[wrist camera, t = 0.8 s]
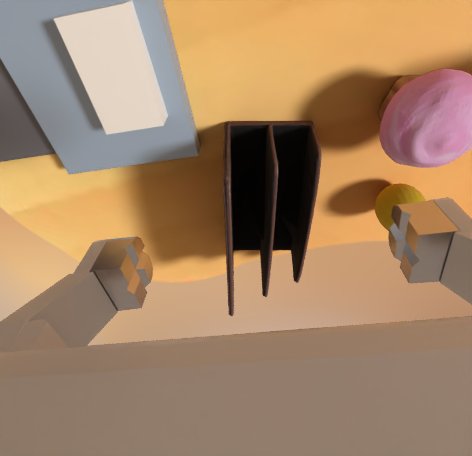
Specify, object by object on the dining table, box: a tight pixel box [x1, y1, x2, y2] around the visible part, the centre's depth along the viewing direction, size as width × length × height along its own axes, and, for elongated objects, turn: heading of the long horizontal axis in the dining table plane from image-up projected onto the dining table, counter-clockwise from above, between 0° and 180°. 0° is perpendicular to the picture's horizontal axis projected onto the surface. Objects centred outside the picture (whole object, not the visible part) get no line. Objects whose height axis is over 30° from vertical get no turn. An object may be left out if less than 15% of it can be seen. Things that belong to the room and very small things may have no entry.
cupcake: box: [378, 69, 472, 167], centre depth 30 cm, size 9×9×10 cm
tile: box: [54, 0, 168, 135], centre depth 29 cm, size 10×6×2 cm, turn 10°
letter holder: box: [223, 121, 321, 316], centre depth 37 cm, size 10×20×14 cm, turn 1°
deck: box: [0, 0, 201, 174], centre depth 32 cm, size 20×16×2 cm
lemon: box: [375, 184, 426, 231], centre depth 39 cm, size 6×6×8 cm
